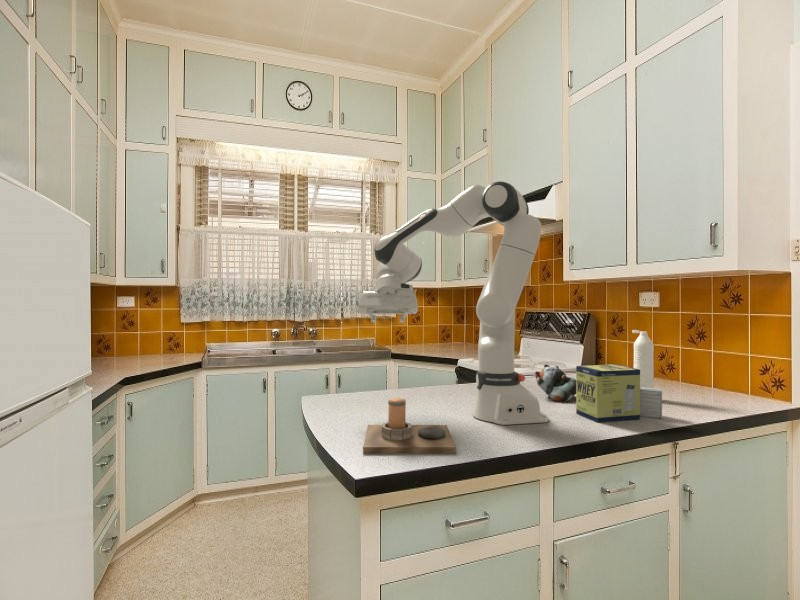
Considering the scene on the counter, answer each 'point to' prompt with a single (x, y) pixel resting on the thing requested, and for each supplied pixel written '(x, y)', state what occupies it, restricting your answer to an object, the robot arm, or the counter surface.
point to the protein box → (608, 392)
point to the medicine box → (650, 402)
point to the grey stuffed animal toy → (556, 383)
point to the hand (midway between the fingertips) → (387, 321)
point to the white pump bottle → (644, 358)
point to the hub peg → (396, 413)
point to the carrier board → (408, 439)
